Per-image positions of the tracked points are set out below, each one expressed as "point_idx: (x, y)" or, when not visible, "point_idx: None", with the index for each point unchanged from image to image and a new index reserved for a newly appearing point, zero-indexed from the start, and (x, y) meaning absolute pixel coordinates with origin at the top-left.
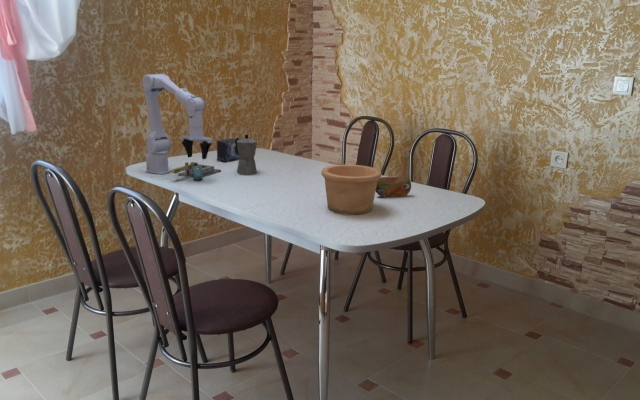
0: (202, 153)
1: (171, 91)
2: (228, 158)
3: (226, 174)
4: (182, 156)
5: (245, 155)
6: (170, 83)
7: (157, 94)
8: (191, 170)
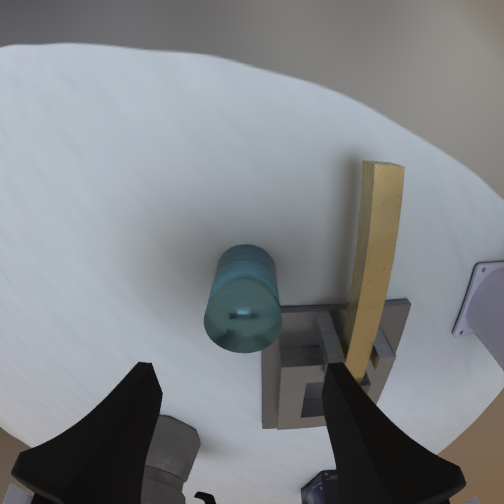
0: (117, 402)
1: None
2: (316, 484)
3: (208, 404)
4: (455, 437)
5: None
6: None
7: None
8: (331, 330)
